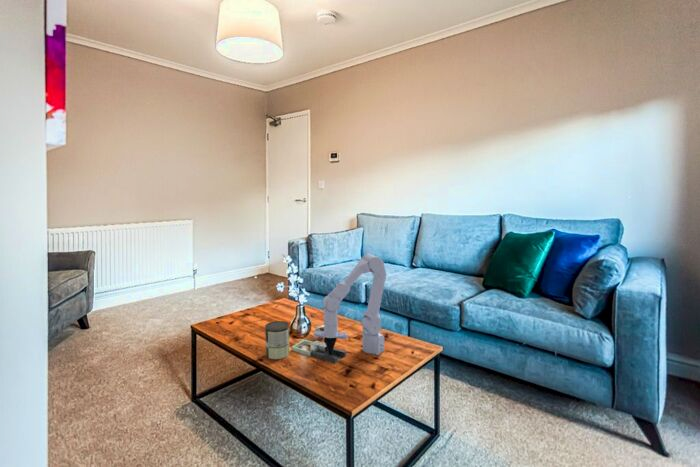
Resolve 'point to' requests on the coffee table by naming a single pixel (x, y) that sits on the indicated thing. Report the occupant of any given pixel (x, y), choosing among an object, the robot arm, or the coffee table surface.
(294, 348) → the tray
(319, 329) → the bull figurine
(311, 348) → the chip
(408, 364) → the coffee table surface
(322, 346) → the grey cube
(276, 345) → the coffee can
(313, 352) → the slot board
